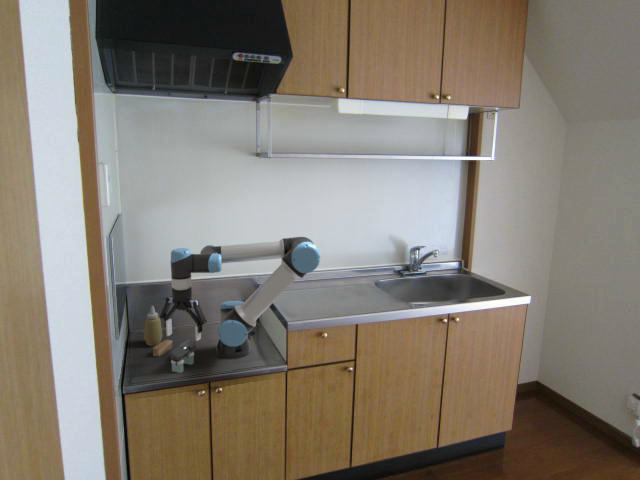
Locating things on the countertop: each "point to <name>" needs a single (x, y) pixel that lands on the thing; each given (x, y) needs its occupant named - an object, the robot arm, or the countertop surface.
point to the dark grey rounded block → (183, 350)
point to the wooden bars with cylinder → (162, 348)
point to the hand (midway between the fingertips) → (183, 337)
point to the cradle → (179, 365)
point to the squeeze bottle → (152, 328)
